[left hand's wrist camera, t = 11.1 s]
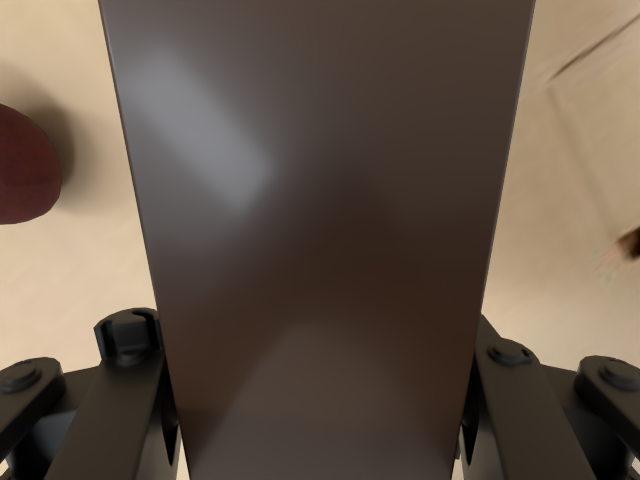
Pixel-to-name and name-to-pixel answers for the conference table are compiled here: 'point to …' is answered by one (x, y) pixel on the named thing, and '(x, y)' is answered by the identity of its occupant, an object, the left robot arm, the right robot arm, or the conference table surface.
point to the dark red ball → (26, 169)
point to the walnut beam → (318, 219)
